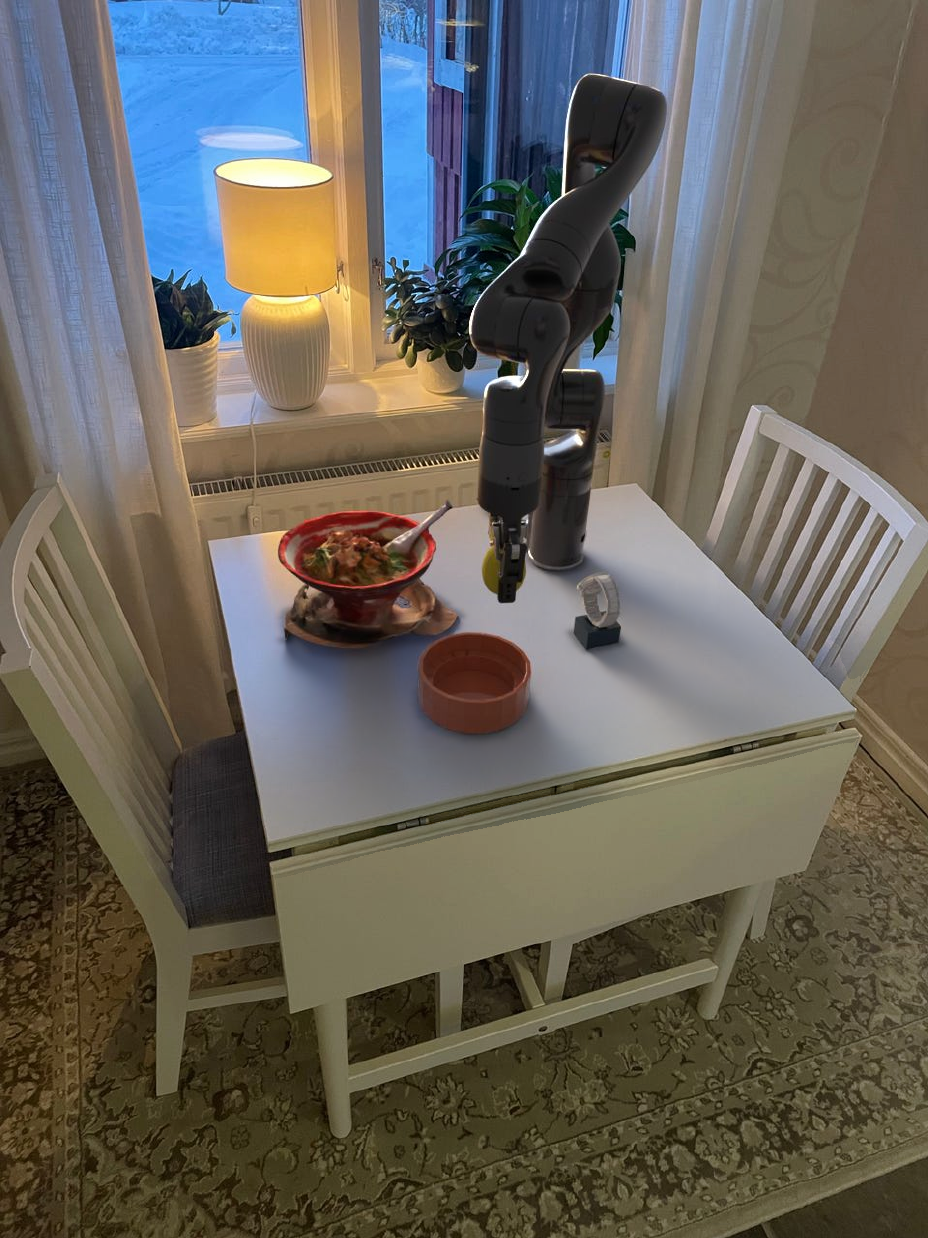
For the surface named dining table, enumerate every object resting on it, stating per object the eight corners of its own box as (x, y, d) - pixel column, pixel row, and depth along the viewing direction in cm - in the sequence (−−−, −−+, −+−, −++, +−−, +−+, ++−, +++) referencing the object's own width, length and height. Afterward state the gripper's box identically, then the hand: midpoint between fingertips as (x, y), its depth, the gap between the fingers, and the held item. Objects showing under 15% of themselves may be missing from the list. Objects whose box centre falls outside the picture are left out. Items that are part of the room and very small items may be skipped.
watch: (599, 619, 146) (608, 560, 140) (624, 649, 140) (634, 589, 134) (567, 626, 145) (574, 566, 138) (590, 656, 138) (599, 595, 132)
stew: (433, 559, 159) (434, 474, 150) (478, 641, 141) (482, 550, 131) (268, 583, 152) (258, 495, 142) (292, 673, 133) (283, 579, 124)
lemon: (520, 610, 117) (524, 556, 112) (476, 604, 118) (479, 550, 113) (526, 586, 121) (531, 533, 117) (484, 581, 122) (487, 528, 117)
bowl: (397, 689, 131) (397, 656, 128) (483, 652, 138) (485, 620, 135) (461, 752, 121) (462, 718, 118) (550, 709, 129) (553, 675, 125)
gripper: (471, 441, 114) (466, 558, 124) (487, 498, 103) (480, 622, 113) (531, 440, 115) (522, 556, 125) (553, 496, 103) (541, 619, 113)
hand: (502, 587), depth 119 cm, fingers closed on lemon, 5 cm apart
